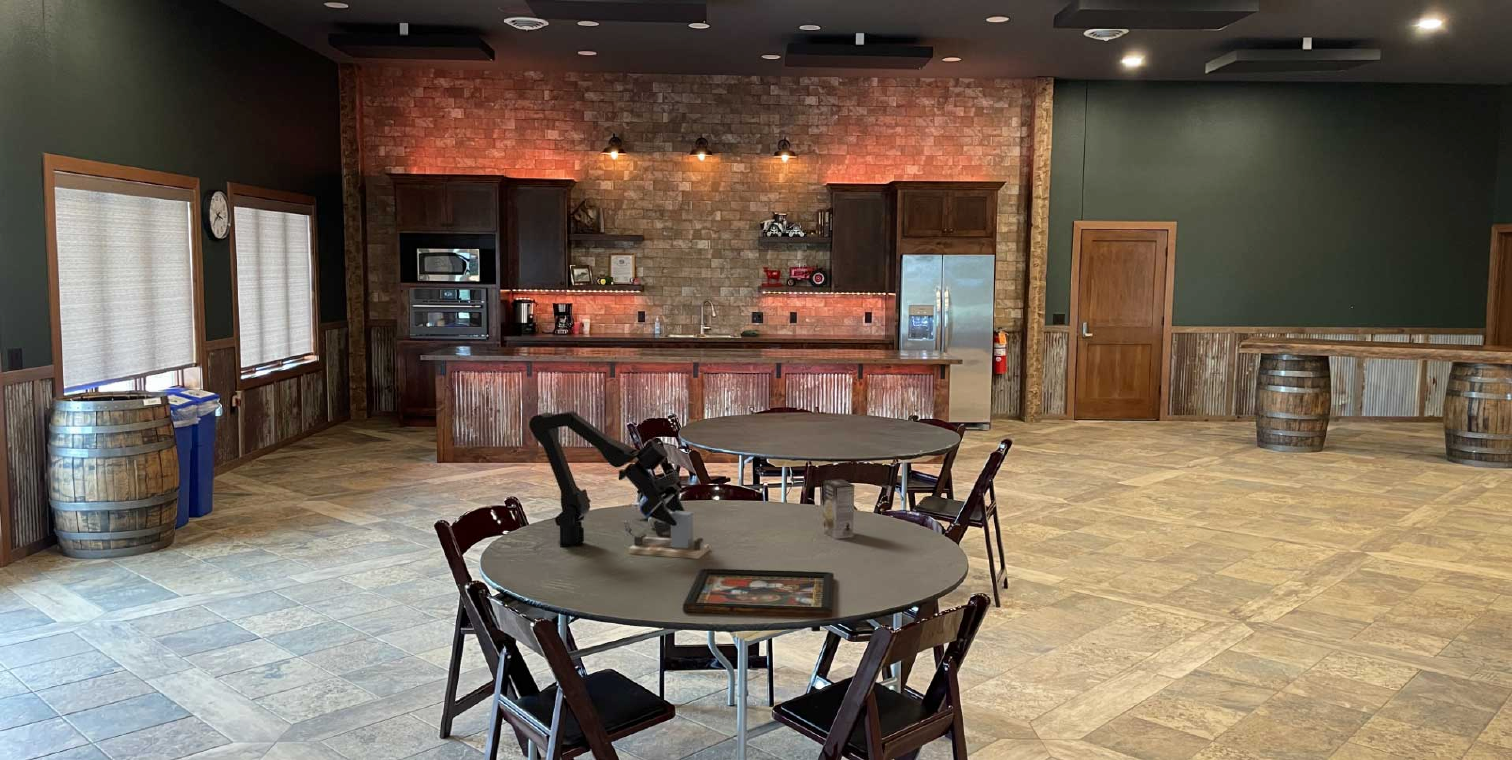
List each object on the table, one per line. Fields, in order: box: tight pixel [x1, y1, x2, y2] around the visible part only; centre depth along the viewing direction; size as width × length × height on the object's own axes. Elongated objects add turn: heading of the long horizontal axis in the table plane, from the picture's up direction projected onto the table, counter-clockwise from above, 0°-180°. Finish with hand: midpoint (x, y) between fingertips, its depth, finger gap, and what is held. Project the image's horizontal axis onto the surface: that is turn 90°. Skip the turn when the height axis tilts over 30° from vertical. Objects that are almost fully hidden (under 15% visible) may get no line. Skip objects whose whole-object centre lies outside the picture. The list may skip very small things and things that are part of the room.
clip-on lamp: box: [624, 511, 673, 537], centre depth 322 cm, size 12×6×18 cm
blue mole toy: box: [628, 495, 651, 519], centre depth 338 cm, size 12×12×8 cm
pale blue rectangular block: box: [670, 510, 694, 548], centre depth 298 cm, size 5×5×9 cm
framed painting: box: [682, 568, 835, 618], centre depth 260 cm, size 38×35×3 cm
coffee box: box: [822, 478, 855, 540], centre depth 318 cm, size 9×6×16 cm
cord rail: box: [628, 533, 710, 560], centre depth 299 cm, size 20×11×4 cm, turn 75°
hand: (681, 521), depth 297 cm, fingers open, 9 cm apart
